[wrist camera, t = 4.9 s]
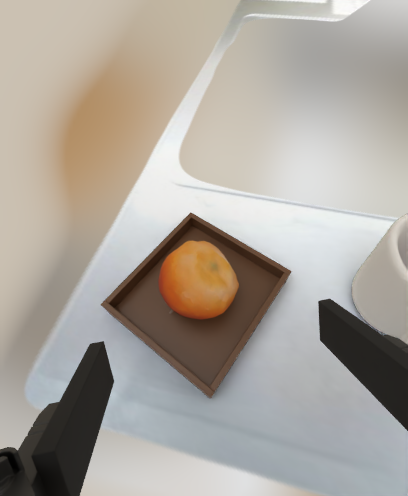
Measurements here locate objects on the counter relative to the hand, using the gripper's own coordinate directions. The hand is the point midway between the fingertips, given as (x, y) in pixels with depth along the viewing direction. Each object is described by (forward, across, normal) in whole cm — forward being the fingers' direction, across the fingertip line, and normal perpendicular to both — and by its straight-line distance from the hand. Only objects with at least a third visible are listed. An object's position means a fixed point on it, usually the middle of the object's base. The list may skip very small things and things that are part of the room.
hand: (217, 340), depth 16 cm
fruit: (+14, 0, -3) cm, 14 cm away
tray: (+14, 0, -3) cm, 15 cm away
